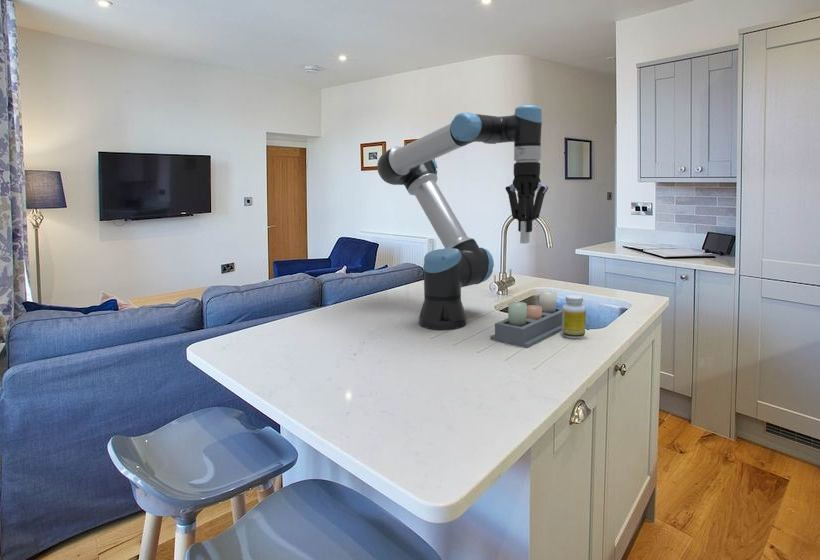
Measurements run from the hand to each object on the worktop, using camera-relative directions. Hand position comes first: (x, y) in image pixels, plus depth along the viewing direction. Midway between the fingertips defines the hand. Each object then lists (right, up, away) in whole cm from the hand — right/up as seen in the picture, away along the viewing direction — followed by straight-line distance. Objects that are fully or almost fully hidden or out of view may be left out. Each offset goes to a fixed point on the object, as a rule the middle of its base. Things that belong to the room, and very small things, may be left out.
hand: (524, 242), depth 150 cm
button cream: (+8, -21, +5) cm, 23 cm away
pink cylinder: (+2, -25, -1) cm, 25 cm away
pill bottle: (+13, -28, -4) cm, 31 cm away
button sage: (-4, -24, -8) cm, 25 cm away
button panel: (+2, -27, 0) cm, 27 cm away
